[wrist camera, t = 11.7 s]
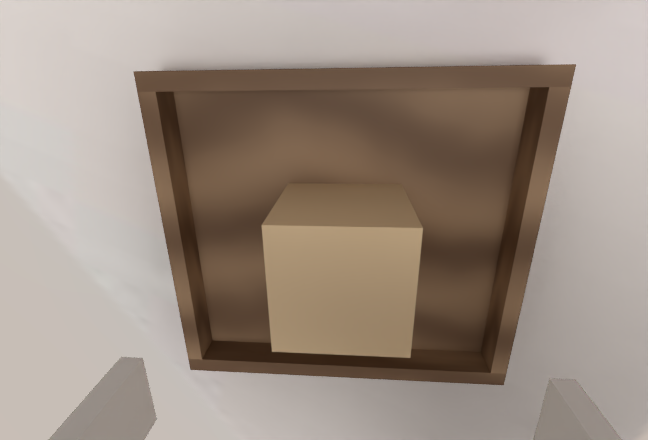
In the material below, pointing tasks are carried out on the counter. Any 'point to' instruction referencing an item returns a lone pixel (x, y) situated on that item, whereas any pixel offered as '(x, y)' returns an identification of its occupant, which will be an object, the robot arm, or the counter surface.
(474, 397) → the counter surface
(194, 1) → the counter surface
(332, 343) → the tan block
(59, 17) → the counter surface
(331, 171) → the tray
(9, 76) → the counter surface
